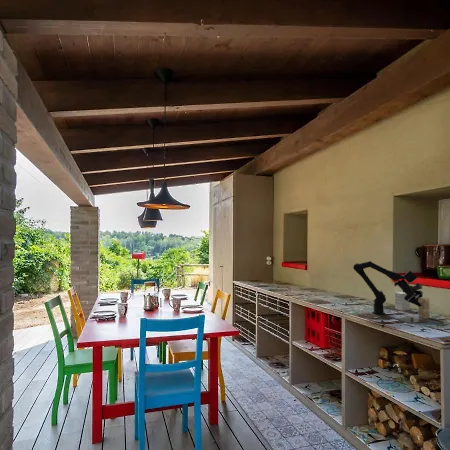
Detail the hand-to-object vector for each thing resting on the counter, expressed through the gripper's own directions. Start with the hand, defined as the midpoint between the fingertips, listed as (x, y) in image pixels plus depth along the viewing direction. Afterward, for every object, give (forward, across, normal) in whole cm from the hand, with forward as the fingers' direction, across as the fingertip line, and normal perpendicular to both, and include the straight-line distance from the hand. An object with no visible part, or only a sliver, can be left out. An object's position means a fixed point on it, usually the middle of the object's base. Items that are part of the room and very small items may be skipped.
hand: (423, 305), depth 241 cm
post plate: (+4, -14, +7) cm, 17 cm away
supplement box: (-9, +18, +21) cm, 29 cm away
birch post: (+6, 0, +6) cm, 8 cm away
